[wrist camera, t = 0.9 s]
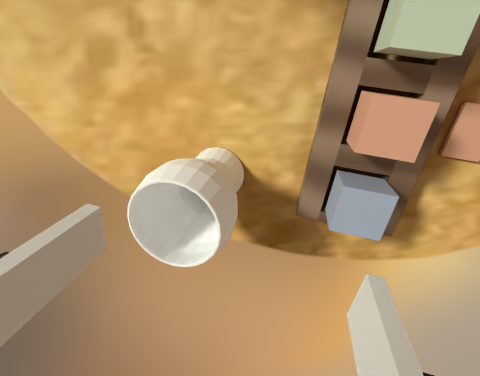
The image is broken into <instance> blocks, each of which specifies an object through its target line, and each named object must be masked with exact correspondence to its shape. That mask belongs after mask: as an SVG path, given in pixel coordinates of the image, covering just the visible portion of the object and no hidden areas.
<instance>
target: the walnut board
mask: <svg viewBox="0 0 480 376" xmlns="http://www.w3.org/2000/svg"><path fill="white" fill-rule="evenodd" d="M383 1H384V0H348V4H347V8H346V12H345V16H344V20H343V24H342V28H341V32H340V36H339V40H338V44H337V48H336V52H335V56H334V60H333V64H332V68H331V72H330V76H329V80H328V83H327V87H326V91H325V95H324V99H323V103H322V107H321V111H320V115H319V119H318V123H317V127H316V131H315V135H314V139H313V143H312V147H311V151H310V155H309V159H308V163H307V167H306V171H305V175H304V178H303V182H302V186H301V190H300V194H299V198H298V202H297V212H296V215H297V216H301V217H306V218H310V219H315V220H319V221H324V222H327V217H326V211H325V208H326V205H327V203H323V201H324V197H325V194H326V191H327V187H328V184H329V181H330V177H331V174H332V171H333V167H334V166H340V167H345V168H350V169H356V170H361V171H367V172H372V173H377V174H380V177H379V178H381V179H385V180H386V182H387V183H388V184H389V185H390V186H391V188H392V189H393V190H394V191H395V193H396V194H397V195H398V196H399V199H398V201H397V203H396V206H395V208H394V210H393V212H392V215H391V217H390V219H389V221H388V224H387V226H386V228H385V231H384V233H383V234H384V235H388V236H391V235H392V233H393V231H394V229H395V226H396V224H397V222H398V220H399V218H400V216H401V213H402V211H403V209H404V207H405V205H406V202H407V200H408V198H409V196H410V194H411V191H412V189H413V187H414V185H415V183H416V181H417V178H418V176H419V174H420V172H421V170H422V167H423V165H424V163H425V161H426V159H427V156H428V154H429V152H430V150H431V148H432V146H433V143H434V141H435V139H436V137H437V135H438V132H439V130H440V128H441V126H442V124H443V121H444V119H445V117H446V115H447V113H448V111H449V108H450V106H451V104H452V102H453V100H454V97H455V95H456V93H457V91H458V89H459V86H460V84H461V82H462V80H463V78H464V75H465V73H466V71H467V69H468V67H469V65H470V62H471V60H472V58H473V56H474V54H475V51H476V49H477V47H478V45H479V43H480V14H479V16H478V19H477V21H476V23H475V26H474V28H473V30H472V32H471V35H470V37H469V39H468V41H467V44H466V46H465V48H464V51H463V53H462V55H461V56H453V57H446V58H438V59H425V61H424V64H418V63H410V62H402V61H394V60H386V59H378V58H370V57H367V54H368V51H369V47H370V44H371V41H372V37H373V34H374V31H375V28H376V24H377V21H378V18H379V14H380V11H381V8H382V4H383ZM358 85H363V86H370V87H377V88H384V89H392V90H399V91H406V92H412V94H411V97H410V98H417V99H422V100H427V101H433V102H438V103H440V105H439V108H438V110H437V112H436V114H435V117H434V119H433V121H432V123H431V126H430V128H429V130H428V133H427V135H426V137H425V139H424V142H423V144H422V146H421V149H420V151H419V153H418V155H417V158H416V160H415V162H414V163H411V162H406V161H400V160H394V159H389V158H383V157H377V156H372V155H366V154H361V153H355V152H354V151H353V150H352V148H351V147H350V145H349V144H348V143H347V141H346V140H342V137H343V134H344V131H345V127H346V124H347V121H348V117H349V114H350V111H351V107H352V104H353V101H354V97H355V94H356V91H357V87H358Z"/></svg>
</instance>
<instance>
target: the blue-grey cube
mask: <svg viewBox="0 0 480 376" xmlns="http://www.w3.org/2000/svg"><path fill="white" fill-rule="evenodd" d="M398 199H399V196H398V195H397V194H396V193H395V191H394V190H393V189H392V188H391V186H390V185H389V184H388V183H387V182H386V180H385V179H381V178H376V177H371V176H366V175H360V174H355V173H350V172H344V171H339V170H337V172H336V175H335V179H334V182H333V185H332V188H331V192H330V195H329V198H328V201H327V205H326V208H325V211H326V217H327V222H328V227H329V230H331V231H336V232H340V233H345V234H349V235H354V236H358V237H363V238H367V239H372V240H376V241H380V240H381V237H382V235H383V233H384V231H385V228H386V226H387V224H388V221H389V219H390V217H391V215H392V212H393V210H394V208H395V206H396V203H397V201H398Z"/></svg>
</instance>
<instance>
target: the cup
mask: <svg viewBox="0 0 480 376" xmlns="http://www.w3.org/2000/svg"><path fill="white" fill-rule="evenodd" d="M243 180H244V170H243V166H242V164H241V162H240V160H239V159H238V158H237V157H236V156H235V155H234V154H233V153H232V152H230V151H228V150H227V149H223V148H219V147H212V148H209V149H206V150H204V151H202V152H201V153H200V154H199V155H198V156H197V157H196V159H191V158H187V159H177V160H173V161H169V162H167V163H165V164H163V165H162V166H160V167H159V168H157V169H155V170H154V171H152V172H151V173H149V174H148V175H147V176H146V177H145V178H144V180H143V181H142V182H141V183H140V185H139V186H138V188H137V189H136V190H135V192H134V193H133V194H132V196H131V199H130V201H129V204H128V214H127V215H128V216H127V218H128V222H129V226H130V229H131V231H132V233H133V235H134V237H135V239H136V240H137V242H138V243H139V244H140V245H141V246H142V248H143V249H144V250H146V251H147V252H148V253H149V254H150V255H151V256H153V257H155V258H156V259H158V260H160V261H161V262H164V263H167V264H170V265H172V266H179V267H191V266H197V265H199V264H202V263H204V262H206V261H208V260H209V259H210V258H211V257H213V255H215V254H216V253H217V252H218V251H219V250H220V249H221V248H222V247H223V246H224V245H225V243H226V242H227V240H228V239H229V237H230V236H231V233H232V231H233V229H234V226H235V224H236V220H237V216H238V203H237V194H236V192H237V191H238V190H239V189H240V187H241V186H242V184H243Z"/></svg>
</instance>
